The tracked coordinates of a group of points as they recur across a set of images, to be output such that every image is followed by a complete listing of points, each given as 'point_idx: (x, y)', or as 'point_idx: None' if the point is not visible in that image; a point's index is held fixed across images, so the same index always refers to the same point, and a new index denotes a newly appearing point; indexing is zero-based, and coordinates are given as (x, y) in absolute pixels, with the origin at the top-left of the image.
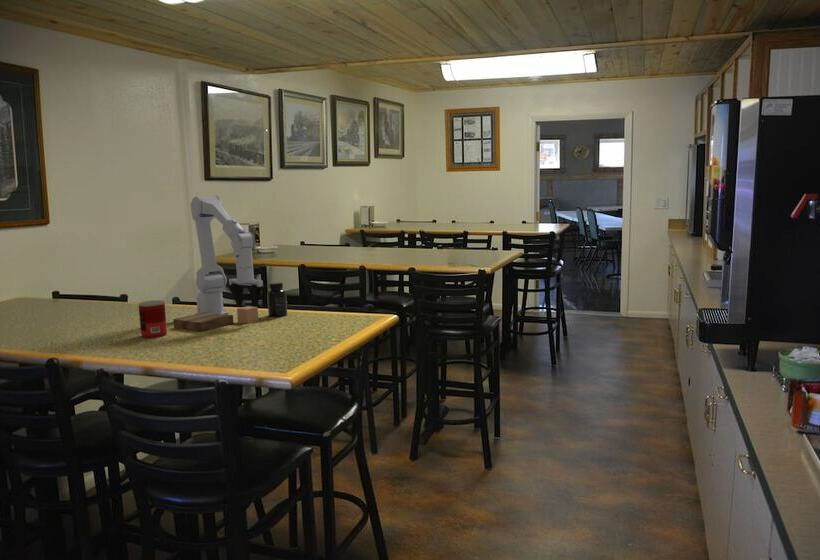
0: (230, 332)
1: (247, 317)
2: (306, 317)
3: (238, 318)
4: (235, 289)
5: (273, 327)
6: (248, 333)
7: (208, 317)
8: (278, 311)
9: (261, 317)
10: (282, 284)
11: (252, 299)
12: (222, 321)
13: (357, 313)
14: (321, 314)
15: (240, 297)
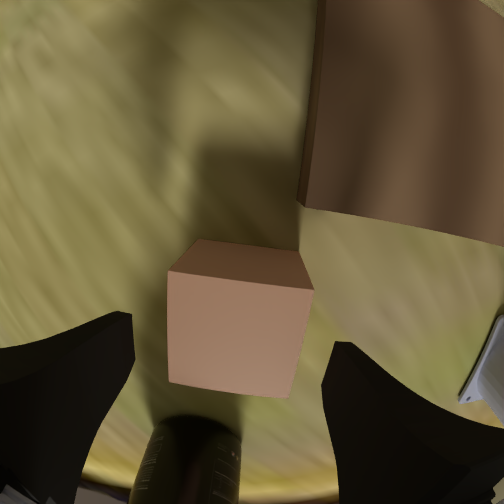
0: (138, 5)
1: (190, 249)
2: None
3: (293, 259)
4: (406, 471)
5: (15, 198)
6: (47, 44)
7: (430, 78)
8: (156, 435)
9: (243, 398)
10: None
11: (68, 332)
12: (315, 92)
13: None
14: None
15: (342, 426)
